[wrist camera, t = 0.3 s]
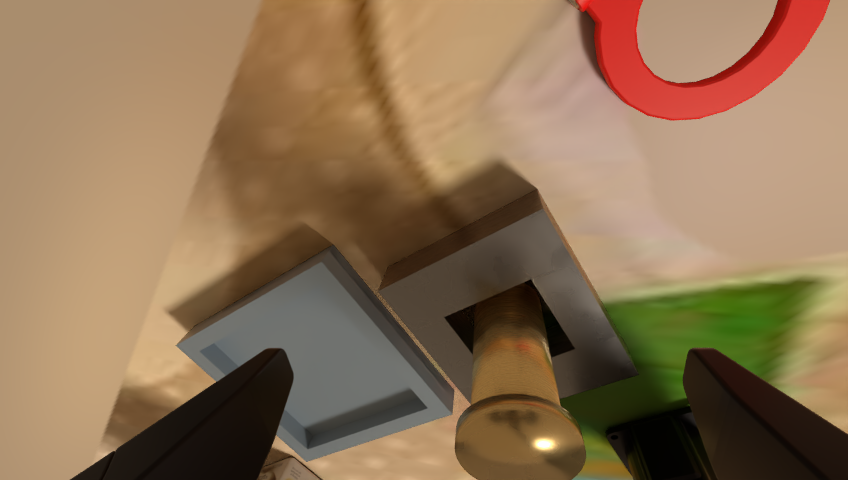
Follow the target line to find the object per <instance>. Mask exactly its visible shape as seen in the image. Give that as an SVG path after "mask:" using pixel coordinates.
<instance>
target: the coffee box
mask: <svg viewBox="0 0 848 480" xmlns="http://www.w3.org/2000/svg"><path fill="white" fill-rule="evenodd" d="M257 480H320V479H319V478H318V477H317V476H315V475H314V474H313V473H312V472H310V471H309V470H308V469H307V468H306V467H304V466H303V465H302V464H301V463H299V462H298V461H297V460H296V459H295V458H287V459H284V460H282V461H279V462H276V463H274V464H271V465H268V466H266V467H263V468H262V470H261V472H260V475H259V477H258V479H257Z"/></svg>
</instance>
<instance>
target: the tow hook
mask: <svg viewBox="0 0 848 480" xmlns="http://www.w3.org/2000/svg"><path fill="white" fill-rule="evenodd" d="M568 1H569V2H570V3H571V4H572V5H573V6H574V7H575V8H576V9H578V10H579V11H581V12H584V11H585V10H586V11H587V13H588V14H589V15H590V16H591V18H592V19H593V20H594V21H595V32H594V41H595V48H596V55H597V62H598V65H599V67H600V69H601V72H602V74H603V76H604V78H605V80H606V82H607V85H608V86H609V87H610V88H611V89H612V90H613V91H614V92H615V93H616V95H617V96H618V97H619V98H620V99H621V100H622V101H623V102H624V103H626V104H627V105H629V106H631V107H633V108H635V109H637V110H638V111H640V112H642V113H644V114H646V115H648V116H652V117H657V118H662V119H667V120H688V119H700V118H703V117H706V116H710V115H713V114H717V113H720V112H724V111H727V110H729V109H730V108H732V107H734V106H736V105H738V104H740V103H742V102H744V101H746V100H748V99H749V98H752V97H753V96H755V95H756V94H758V93H759V92H760V91H761V90H763V89H764V88H765V87H767V86H768V85H769V84H770V83H772V82H773V81H774V80H776V79H777V78H778V77H779V76H781V75H782V74H783V72H784V71H785V70H786V69H787V68H788V67H789V66H790V65H791V64H792V62H793V61H794V60H795V59H796V58H797V57H798V56H799V55H800V53H801V52H802V51H803V50H804V49H805V47H806V46H807V44H808V43H809V41H810V39H811V38H812V36H813V35H814V33H815V31H816V30H817V28H818V26H819V25H820V23H821V21H822V20H823V18H824V15H825V13H826V10H827V7H828V5H829V2H830V0H778V2H777V5H776V8H775V11H774V15H773V17H772V19H771V21H770V23H769V24H768V26H767V28H766V30H765V31H764V33H763V35H762V36H761V37H760V39H759V40H758V41H757V42H756V44H755V45H754V46H753V47H752V48H751V50H750V51H749V52H748V53H747V54H746V55H744V56H743V57H742V58H741V59H740V60H738V61H737V62H736V63H735V64H734V65H732V66H731V67H729V68H728V69H726V70H724V71H722V72H721V73H719V74H717V75H715V76H713V77H710V78H707V79H703V80H700V81H697V82H689V83H675V82H670V81H665V80H663V79H661V78H660V77H658V76H656V75H654V74H653V73H652V71H651V70H650V69H649V68H648V67H647V66H646V64H645V63H644V61H643V59H642V56H641V54H640V52H639V49H638V43H637V33H636V27H637V21H638V15H639V9H640V7H641V4H642V2H643V0H568Z"/></svg>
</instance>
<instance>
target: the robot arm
mask: <svg viewBox="0 0 848 480" xmlns="http://www.w3.org/2000/svg"><path fill="white" fill-rule="evenodd" d="M293 380H294V373H293V370H292V367H291V365H290V362H289V359H288V357H287V354H286V352H285V350H284V349H282V348H267V349H265V350H263V351H262V352H260V353H259V354H257V355H256V356H254V357H253V358H251V359H250V360H248V361H247V362H245V363H244V364H242V365H241V366H239V367H238V368H236V369H235V370H233V371H232V372H230V373H229V374H227V375H226V376H224V377H223V378H221V379H220V380H219V381H217V382H216V383H214V384H213V385H211V386H210V387H208V388H207V389H205V390H204V391H202V392H201V393H199V394H198V395H196V396H195V397H193V398H192V399H190V400H189V401H187V402H186V403H184V404H183V405H181V406H180V407H178V408H177V409H175V410H174V411H172V412H171V413H169V414H168V415H166V416H165V417H163V418H162V419H160V420H159V421H157V422H156V423H154V424H153V425H151V426H150V427H148V428H147V429H145V430H144V431H142V432H141V433H140V434H138V435H137V436H135V437H134V438H132V439H131V440H129V441H128V442H126V443H125V444H123V445H122V446H120V447H119V448H117V450H116V451H113V452H111V453H110V454H108V455H107V456H105V457H104V458H102V459H101V460H99V461H98V462H96V463H95V464H93V465H92V466H90V467H89V468H87V469H86V470H84V471H83V472H81V473H80V474H78V475H76V476H75V477H73V478H72V479H70V480H257V479H258V477H259V475H260V472H261V470H262V468H263V465H264V463H265V461H266V459H267V456H268V454H269V452H270V449H271V447H272V444H273V442H274V439H275V436H276V433H277V431H278V427H279V424H280V421H281V418H282V415H283V412H284V409H285V406H286V403H287V400H288V397H289V394H290V391H291V388H292V384H293ZM683 386H684V390H685V393H686V396H687V399H688V401H689V404H690V407H688V408H684V409H680V410H676V411H673V412H669V413H665V414H661V415H658V416H654V417H650V418H646V419H643V420H639V421H635V422H631V423H627V424H624V425H620V426H616V427H612V428H609V429H607V430H606V432H605V433H606V436H607V439H608V441H609V442H610V444H611V445H612V447H613V448H614V450H615V451H616V453H617V454H618V456H619V457H620V459H621V460H622V462H623V463H624V465H625V466H626V468H627V469H628V471H629V472H630V474H631V475H632V477H633V480H848V434H847V433H845V432H844V431H842V430H841V429H839V428H837V427H836V426H834V425H833V424H831V423H830V422H828V421H827V420H825V419H823V418H822V417H820V416H819V415H817V414H816V413H814V412H813V411H811V410H809V409H808V408H806V407H805V406H803V405H802V404H800V403H799V402H797V401H795V400H794V399H792V398H791V397H789V396H788V395H786V394H785V393H783V392H781V391H780V390H778V389H777V388H775V387H774V386H772V385H771V384H769V383H768V382H766V381H764V380H763V379H761V378H760V377H758V376H757V375H755V374H754V373H752V372H750V371H749V370H747V369H746V368H744V367H743V366H741V365H740V364H738V363H736V362H735V361H733V360H732V359H730V358H729V357H727V356H726V355H724V354H722V353H721V352H719V351H718V350H716V349H714V348H692V349H690V350H689V352H688V355H687V359H686V364H685V369H684V374H683Z"/></svg>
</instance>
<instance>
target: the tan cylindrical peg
mask: <svg viewBox="0 0 848 480" xmlns="http://www.w3.org/2000/svg"><path fill="white" fill-rule="evenodd" d="M455 454H456V457H457V459H458V461H459V463H460V464H461V466H462V467H463V468H464V469H465V470H466V471H467V472H468V473H469V474H470V475H472V476H473V477H474V478H476V479H478V480H571V479H573V478H574V477H575V476H576V475H577V474H578V473H579V472H580V471H581V469H582V468H583V466H584V463H585V460H586V451H585V446H584V442H583V437H582V433H581V429H580V427H579V424H578V423H577V421H576V419H575V418H574V417H573V416H572V415H571V414H570V413H569V412H568V411H567V410H566V409H564V408H563V407H561V405H560V400H559V395H558V390H557V385H556V380H555V374H554V369H553V364H552V359H551V354H550V349H549V344H548V339H547V334H546V328H545V323H544V318H543V313H542V308H541V303H540V299H539V296H538V294H537V293H536V291H535V290H534V289H533V288H532V287H531V286H529V285H528V284H526V283H521V284H519V285H517V286H514V287H512V288H510V289H507V290H505V291H503V292H501V293H498V294H496V295H494V296H491V297H489V298H487V299H485V300H482V301H480V302H478V303H475V316H474V341H473V367H472V392H471V406H470V407H468V408H467V409H466V410H465V411H464V412H463V413H462V415H461V416H460V418H459V420H458V422H457V426H456V438H455Z"/></svg>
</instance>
